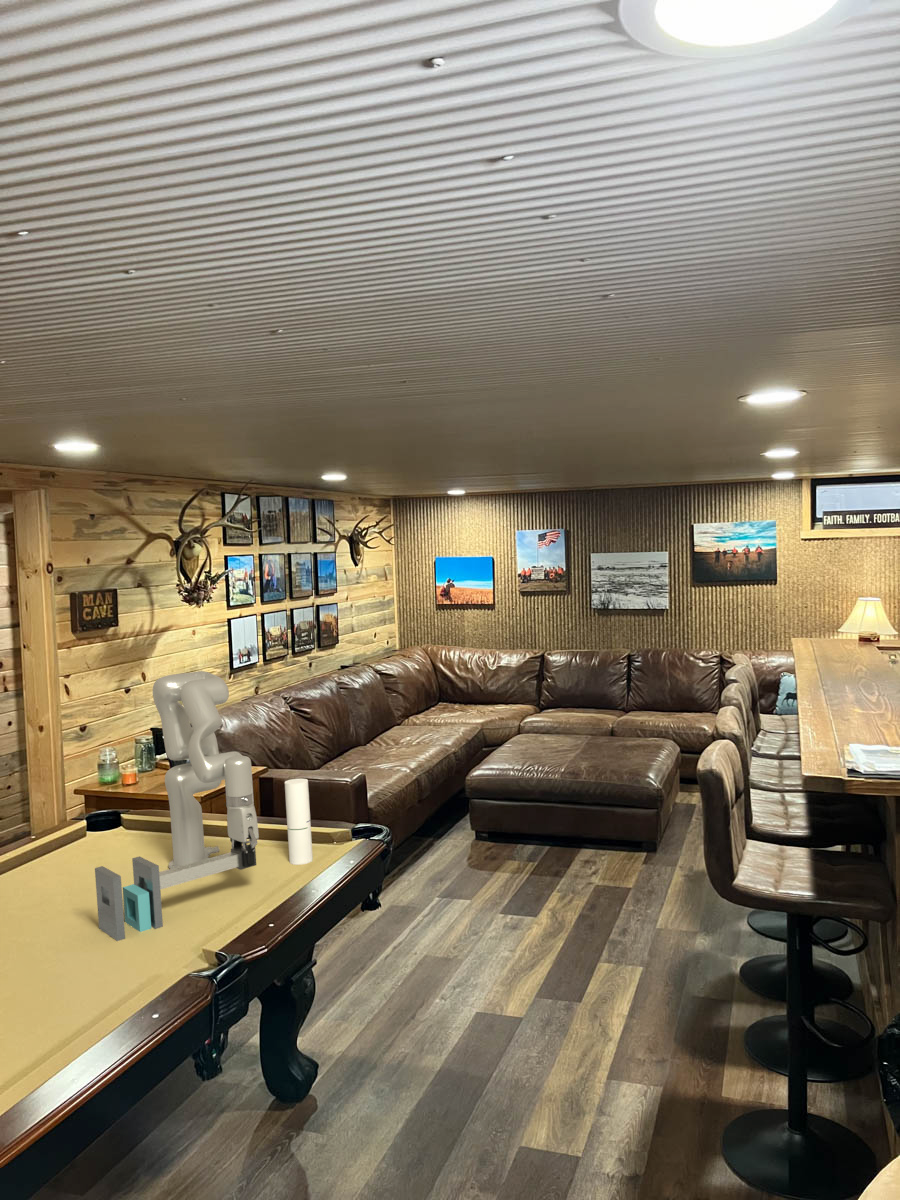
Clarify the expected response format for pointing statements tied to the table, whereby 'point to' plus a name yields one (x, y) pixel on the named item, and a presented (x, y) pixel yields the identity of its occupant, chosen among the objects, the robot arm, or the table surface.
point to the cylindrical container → (298, 821)
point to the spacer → (137, 907)
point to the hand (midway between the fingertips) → (244, 863)
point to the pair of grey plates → (112, 896)
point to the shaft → (202, 868)
